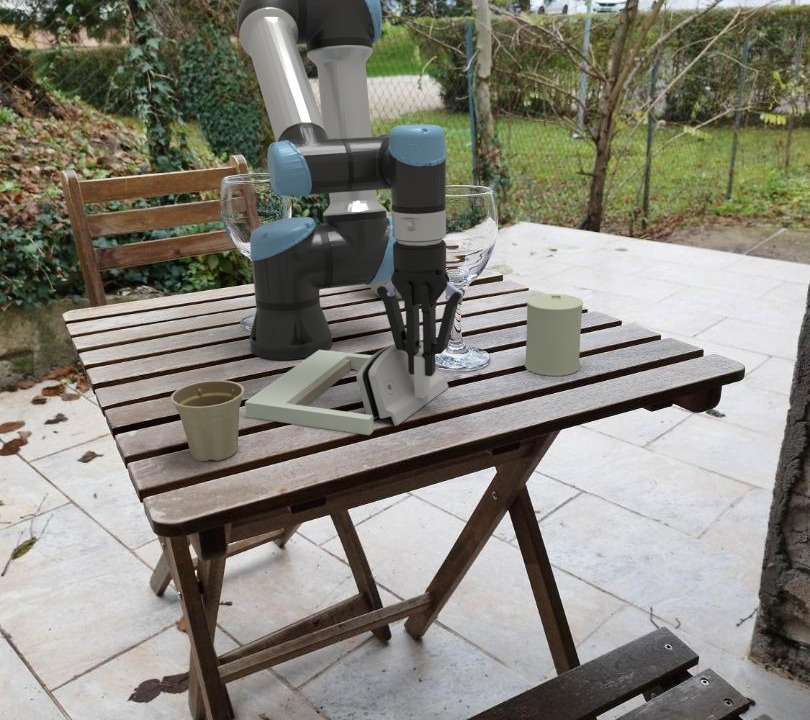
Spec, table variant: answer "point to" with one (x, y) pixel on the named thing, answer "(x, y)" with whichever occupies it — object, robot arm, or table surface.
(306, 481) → the table surface
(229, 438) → the flower pot
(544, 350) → the can
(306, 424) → the beige flat angled piece
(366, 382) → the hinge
